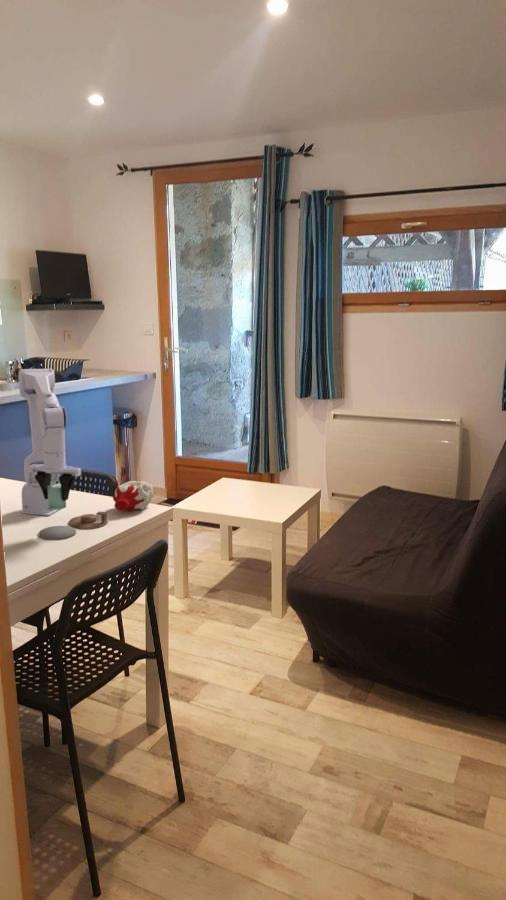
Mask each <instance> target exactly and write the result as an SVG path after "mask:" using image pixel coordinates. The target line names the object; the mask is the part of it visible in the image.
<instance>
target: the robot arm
mask: <svg viewBox="0 0 506 900" xmlns="http://www.w3.org/2000/svg"><path fill="white" fill-rule="evenodd" d="M55 376H56V375H55V371H54V369H53V368H24V369H23V368H20V369H19V371H18V375H17V377H18V387H19V389H18V390H19V394H20V397H22V398H24V399H25V400H26V401H27V405H28V411H29V412H28V413H29V423H30V433H31V434H30V436H31V447H32V452H31V453H30V454H29V455H28V456H26V457H25V458H24V462H23V465H24V466H23V475H24V482H25V483H24V484H23V486H22V489H21V511H20V513H21V514H26V515H27V514H28V515H38V516H51V515H52V514H55V512H58V511H59V510H60V509H57V510H52V511H47V509H48V493H47V486H49V485H53V484H57V482H58V481H59V483H60V484H61V489H62V501H66V502H67V500H69V495H70V490H71V487H72V485H73V483H74V480H75V479H76V477H80V476H82V468H81V467H76V466H72V465H71V466H70V465H67V464H66V463H67V461H66V460H67V459H66V443H65V442H66V437H65V436H66V435H65V434H66V433H65V429H66V428H67V422H68V416H67V410H66V407H65V406H62V405H60V402H59V399H58V398H57V395H56V394H55V393H53V392H54V388H55V387H56V385H55V384H56V377H55Z"/></svg>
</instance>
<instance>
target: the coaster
mask: <svg viewBox="0 0 506 900" xmlns="http://www.w3.org/2000/svg"><path fill="white" fill-rule="evenodd" d="M76 529H77V528H73V527H71V526H70V525H53V526H49V527H45V528H42V529H41V530H40V531H39V532H38V537H40V538H41V539H44V540H48V541H51V540H52V541H59V540H66V539H69V538H72V537H74V536H75V535H76V534H77V530H76Z"/></svg>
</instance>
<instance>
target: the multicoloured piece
mask: <svg viewBox="0 0 506 900" xmlns="http://www.w3.org/2000/svg"><path fill="white" fill-rule="evenodd" d="M154 490H155V489H154V486H153V485H152V484H150V483H149V482H147V481H144V480H143V481H138V480H130V481H127V482H124V483H122V484H120V485H117V486H116V489H115V491H114V494H113V496H112V499H113V501H114V506H113V507H115V509H116V510H117V511H127V512H134V511H137V510H138V509H140V510H141V511H143V510H145V508H146V507H147V506H149V505H150V503H151V501H152V499H153V498H154V495H155V493H154Z"/></svg>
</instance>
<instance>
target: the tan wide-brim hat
mask: <svg viewBox="0 0 506 900" xmlns="http://www.w3.org/2000/svg"><path fill="white" fill-rule="evenodd" d="M108 523H109V520H108V512H107V511H98V512H96V513H95V514H93V513H92V514H90V513H85V514H82V515H79V516H75V517H72V518H71V519H70V520H69V521H68V526H69V527H73V528H75V529H77V530H94V529H98V528H102V527H104V526H106V525H108Z"/></svg>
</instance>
